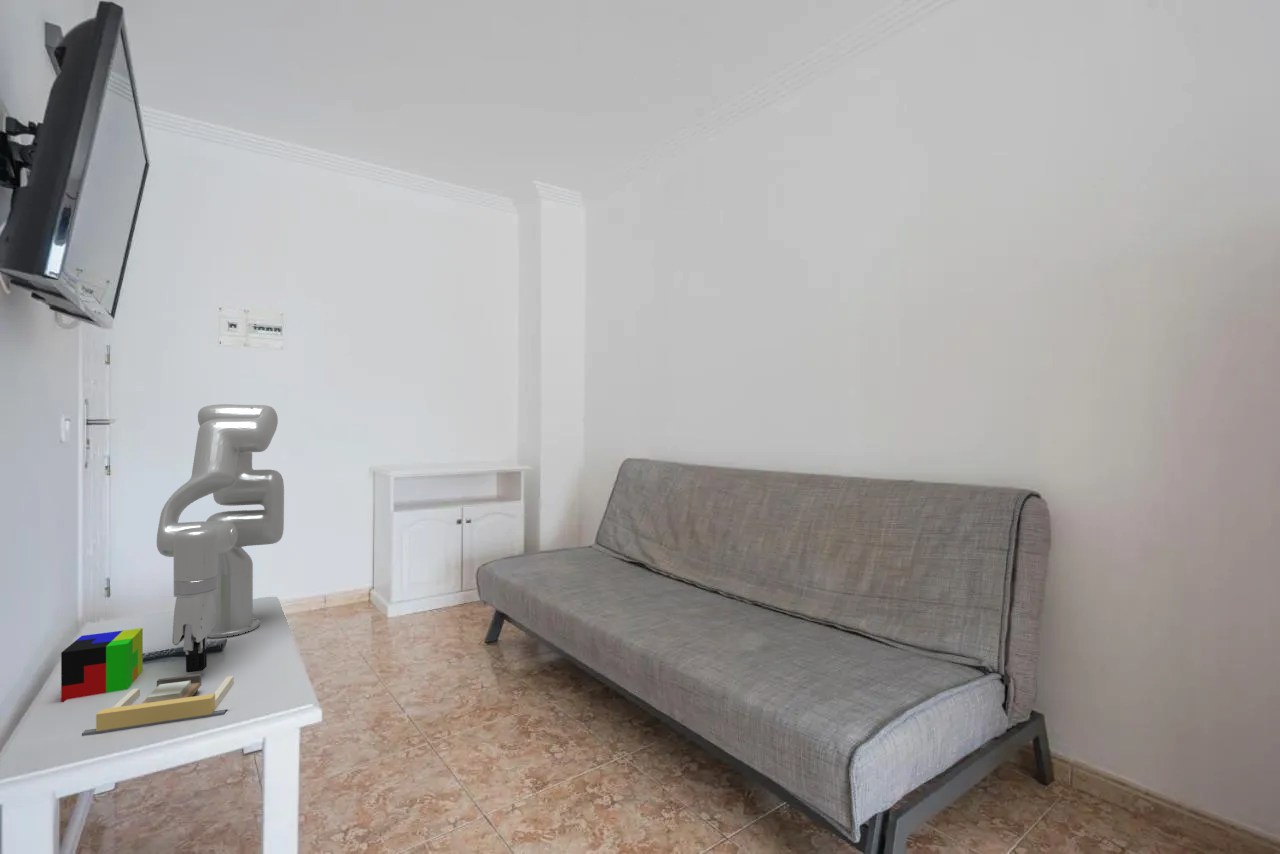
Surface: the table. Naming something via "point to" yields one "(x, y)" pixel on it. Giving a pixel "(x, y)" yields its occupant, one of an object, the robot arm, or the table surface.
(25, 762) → the table surface
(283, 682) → the table surface
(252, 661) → the table surface
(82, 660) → the puzzle toy
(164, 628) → the table surface
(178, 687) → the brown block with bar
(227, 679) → the mat
